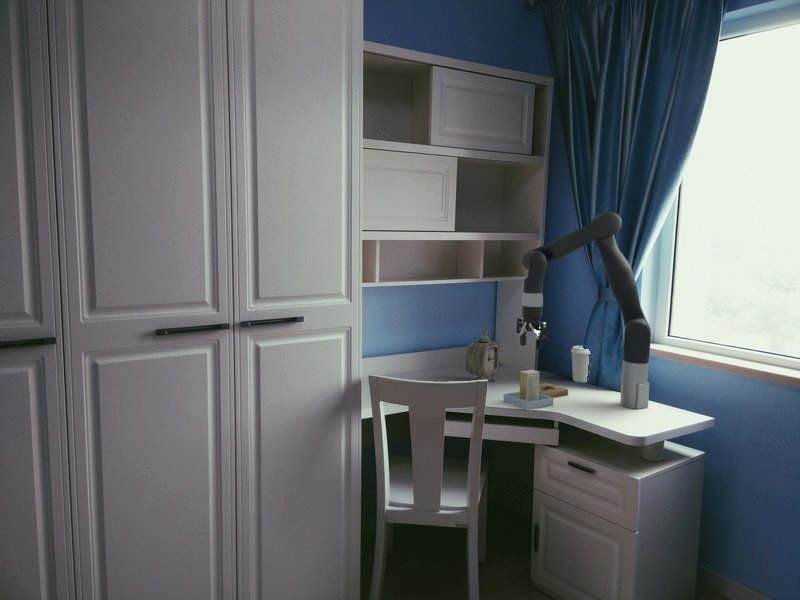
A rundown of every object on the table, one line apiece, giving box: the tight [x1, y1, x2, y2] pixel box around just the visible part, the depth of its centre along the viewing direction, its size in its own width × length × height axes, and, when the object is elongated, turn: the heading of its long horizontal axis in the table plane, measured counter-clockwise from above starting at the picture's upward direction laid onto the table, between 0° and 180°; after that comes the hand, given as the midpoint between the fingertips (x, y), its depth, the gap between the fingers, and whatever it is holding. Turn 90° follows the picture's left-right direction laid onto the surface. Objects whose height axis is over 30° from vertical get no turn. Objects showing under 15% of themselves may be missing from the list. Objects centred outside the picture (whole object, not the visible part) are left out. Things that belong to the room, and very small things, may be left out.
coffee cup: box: [570, 345, 591, 383], centre depth 276 cm, size 10×10×15 cm
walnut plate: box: [539, 382, 569, 399], centre depth 253 cm, size 12×14×2 cm
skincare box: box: [519, 369, 540, 402], centre depth 237 cm, size 6×4×12 cm
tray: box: [502, 391, 554, 411], centre depth 238 cm, size 13×13×3 cm
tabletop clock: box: [465, 324, 501, 381], centre depth 269 cm, size 14×9×25 cm, turn 141°
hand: (530, 347), depth 235 cm, fingers open, 8 cm apart
